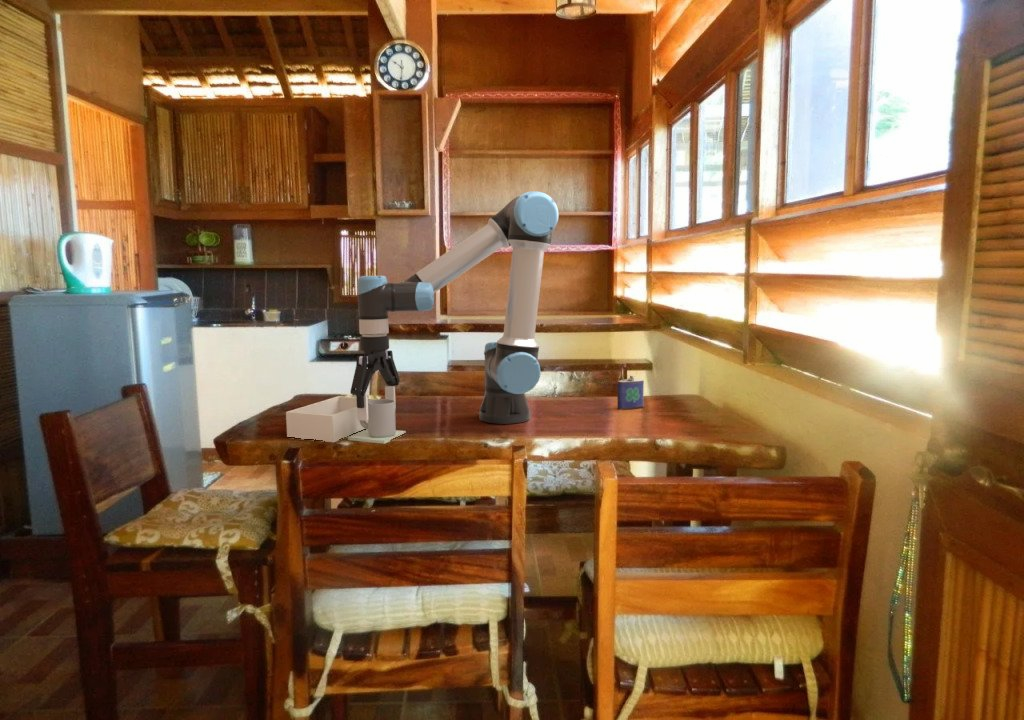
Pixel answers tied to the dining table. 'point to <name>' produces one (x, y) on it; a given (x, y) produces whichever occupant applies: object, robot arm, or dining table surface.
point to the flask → (630, 393)
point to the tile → (365, 437)
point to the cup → (380, 418)
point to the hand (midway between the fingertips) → (377, 414)
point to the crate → (325, 420)
